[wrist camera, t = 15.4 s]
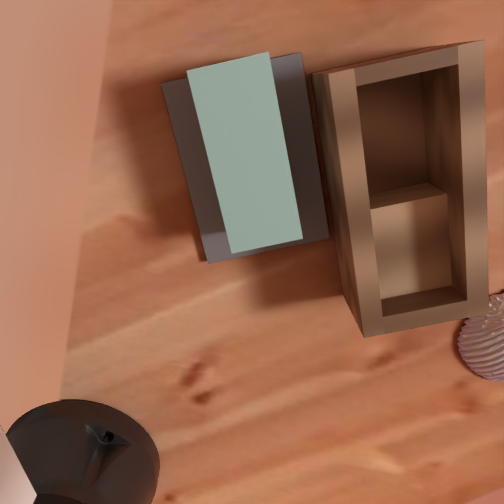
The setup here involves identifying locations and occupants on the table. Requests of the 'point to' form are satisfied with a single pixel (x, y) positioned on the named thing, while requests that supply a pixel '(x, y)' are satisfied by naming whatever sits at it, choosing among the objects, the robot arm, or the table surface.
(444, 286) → the frame
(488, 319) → the seashell
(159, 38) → the table surface
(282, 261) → the table surface
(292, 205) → the part
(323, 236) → the mat
